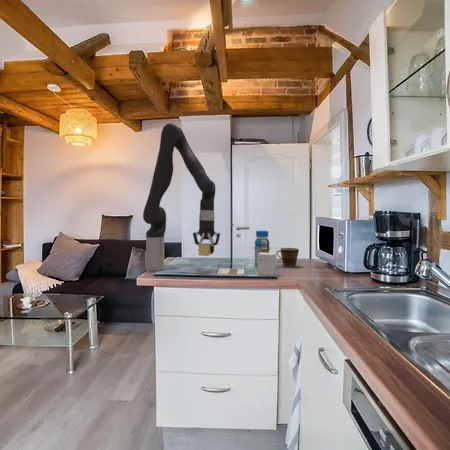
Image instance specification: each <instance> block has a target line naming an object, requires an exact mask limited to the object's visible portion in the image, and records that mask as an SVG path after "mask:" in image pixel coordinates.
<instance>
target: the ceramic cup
mask: <svg viewBox="0 0 450 450" xmlns="http://www.w3.org/2000/svg"><path fill="white" fill-rule="evenodd" d="M299 251H300V249H299V248H297V247H296V248H295V247H281V248H280V250H277V251H276V256H278V258H279V259H280V260H282V267H283V268H286V269H287V268H289V269H290V268H291V269H292V268H296V266H297V263H298V262H297V260H298V255H299ZM279 252H280V255H279V254H278V253H279Z"/></svg>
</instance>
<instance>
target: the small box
mask: <svg viewBox="0 0 450 450" xmlns="http://www.w3.org/2000/svg"><path fill="white" fill-rule="evenodd" d="M257 260H258V261H257V264H258V268H257V275H258V276H263V277H264V276H265V277H274V276H276V275H277V252H269V253H263V252H261V253H258V254H257Z"/></svg>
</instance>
